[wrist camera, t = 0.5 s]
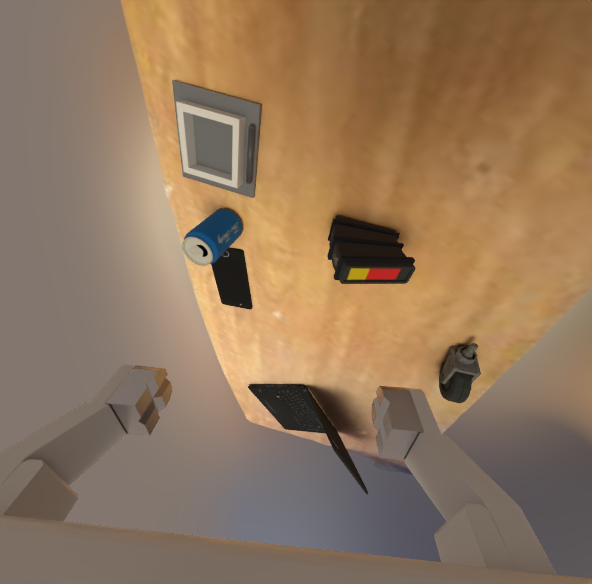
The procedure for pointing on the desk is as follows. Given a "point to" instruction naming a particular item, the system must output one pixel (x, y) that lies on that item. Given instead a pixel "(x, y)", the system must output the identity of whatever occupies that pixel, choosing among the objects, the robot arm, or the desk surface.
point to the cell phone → (232, 279)
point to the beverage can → (212, 237)
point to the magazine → (367, 254)
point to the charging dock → (218, 137)
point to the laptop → (302, 416)
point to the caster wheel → (459, 373)
